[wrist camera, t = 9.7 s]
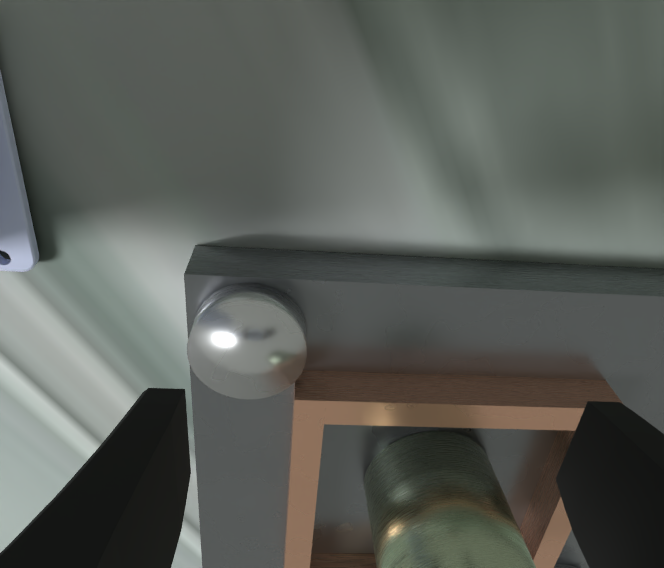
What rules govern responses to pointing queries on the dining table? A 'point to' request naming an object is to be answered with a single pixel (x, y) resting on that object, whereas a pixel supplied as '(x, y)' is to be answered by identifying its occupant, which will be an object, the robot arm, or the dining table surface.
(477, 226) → the dining table surface
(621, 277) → the grey square slab
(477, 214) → the dining table surface
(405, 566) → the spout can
